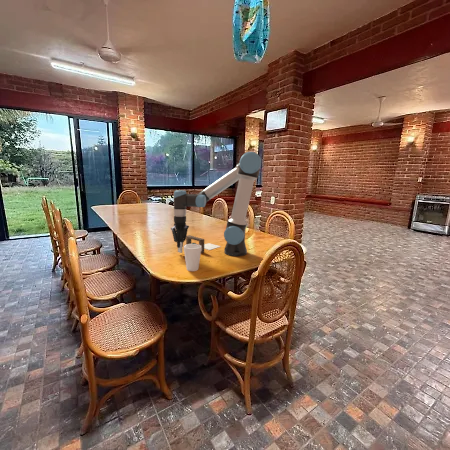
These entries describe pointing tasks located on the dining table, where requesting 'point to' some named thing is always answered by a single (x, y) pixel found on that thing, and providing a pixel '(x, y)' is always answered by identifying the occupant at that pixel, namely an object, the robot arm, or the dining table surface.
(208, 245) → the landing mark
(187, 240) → the bridge
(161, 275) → the dining table surface
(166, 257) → the dining table surface
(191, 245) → the foam cup
